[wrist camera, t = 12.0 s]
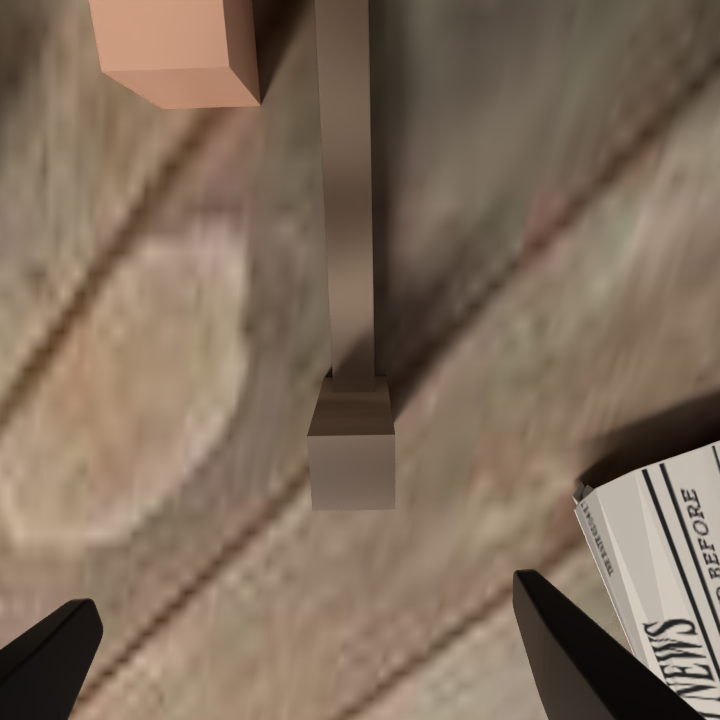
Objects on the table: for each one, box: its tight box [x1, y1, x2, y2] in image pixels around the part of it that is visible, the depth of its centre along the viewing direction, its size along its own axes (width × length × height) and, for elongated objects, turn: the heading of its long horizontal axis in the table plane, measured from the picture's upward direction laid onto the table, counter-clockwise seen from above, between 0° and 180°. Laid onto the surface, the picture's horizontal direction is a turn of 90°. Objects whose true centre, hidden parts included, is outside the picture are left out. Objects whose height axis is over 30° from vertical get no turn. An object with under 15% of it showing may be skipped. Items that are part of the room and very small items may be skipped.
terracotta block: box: [89, 0, 261, 109], centre depth 14 cm, size 4×4×4 cm
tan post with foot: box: [307, 0, 395, 510], centre depth 15 cm, size 20×7×6 cm, turn 2°
